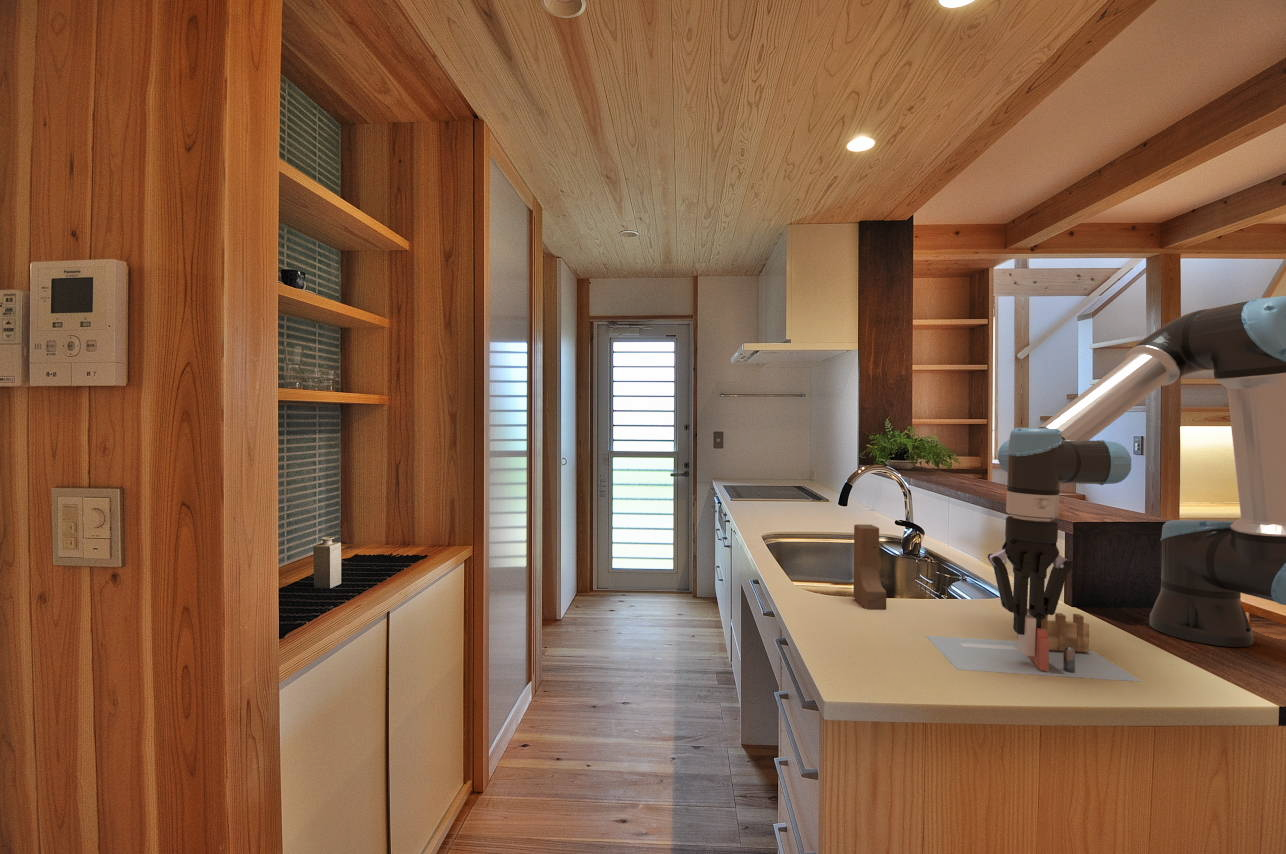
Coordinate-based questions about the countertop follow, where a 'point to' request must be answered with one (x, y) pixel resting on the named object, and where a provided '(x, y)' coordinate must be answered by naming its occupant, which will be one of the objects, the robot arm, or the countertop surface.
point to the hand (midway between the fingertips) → (1026, 652)
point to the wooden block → (867, 568)
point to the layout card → (1022, 659)
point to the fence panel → (1041, 649)
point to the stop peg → (1069, 659)
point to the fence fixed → (1067, 632)
